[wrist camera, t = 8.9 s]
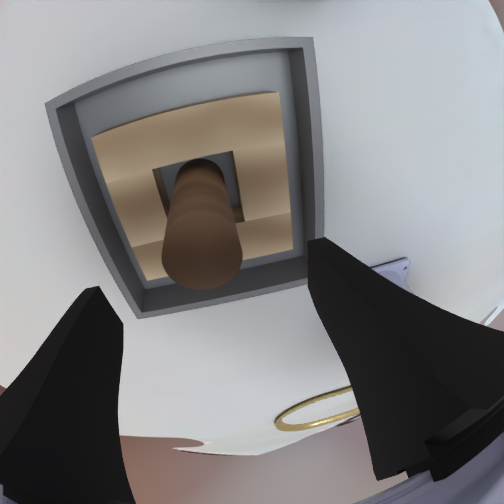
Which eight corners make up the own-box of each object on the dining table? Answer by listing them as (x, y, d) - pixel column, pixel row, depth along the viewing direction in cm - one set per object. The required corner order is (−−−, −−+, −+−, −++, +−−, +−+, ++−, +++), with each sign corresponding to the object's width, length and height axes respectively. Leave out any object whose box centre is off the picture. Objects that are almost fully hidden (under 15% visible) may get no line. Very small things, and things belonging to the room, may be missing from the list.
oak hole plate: (284, 233, 20) (293, 249, 18) (150, 262, 19) (147, 280, 17) (269, 90, 14) (278, 92, 12) (102, 130, 13) (91, 137, 11)
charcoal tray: (309, 256, 22) (322, 280, 20) (142, 292, 21) (137, 319, 19) (294, 43, 12) (312, 37, 10) (67, 97, 12) (44, 103, 9)
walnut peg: (227, 198, 17) (247, 281, 11) (182, 207, 17) (175, 295, 11) (219, 153, 15) (236, 215, 9) (170, 164, 15) (150, 233, 9)
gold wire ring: (404, 388, 55) (407, 393, 54) (272, 430, 51) (273, 436, 49) (437, 347, 44) (441, 353, 43) (275, 401, 40) (277, 409, 38)
